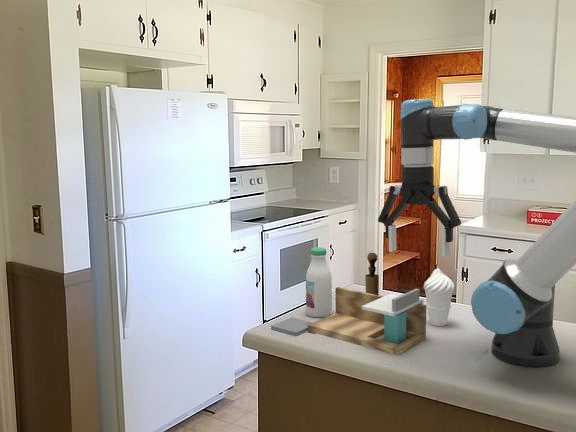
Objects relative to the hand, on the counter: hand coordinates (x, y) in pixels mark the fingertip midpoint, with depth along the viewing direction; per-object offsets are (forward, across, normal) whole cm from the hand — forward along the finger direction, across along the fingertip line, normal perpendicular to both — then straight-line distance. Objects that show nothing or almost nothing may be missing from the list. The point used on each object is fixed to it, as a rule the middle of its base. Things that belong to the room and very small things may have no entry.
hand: (418, 253), depth 138 cm
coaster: (+23, +35, +4) cm, 43 cm away
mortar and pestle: (+24, +24, -21) cm, 40 cm away
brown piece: (+24, +16, -1) cm, 29 cm away
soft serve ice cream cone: (+24, +3, -20) cm, 32 cm away
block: (+24, +7, -1) cm, 25 cm away
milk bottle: (+24, +36, -10) cm, 44 cm away
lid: (+22, +8, -1) cm, 23 cm away
